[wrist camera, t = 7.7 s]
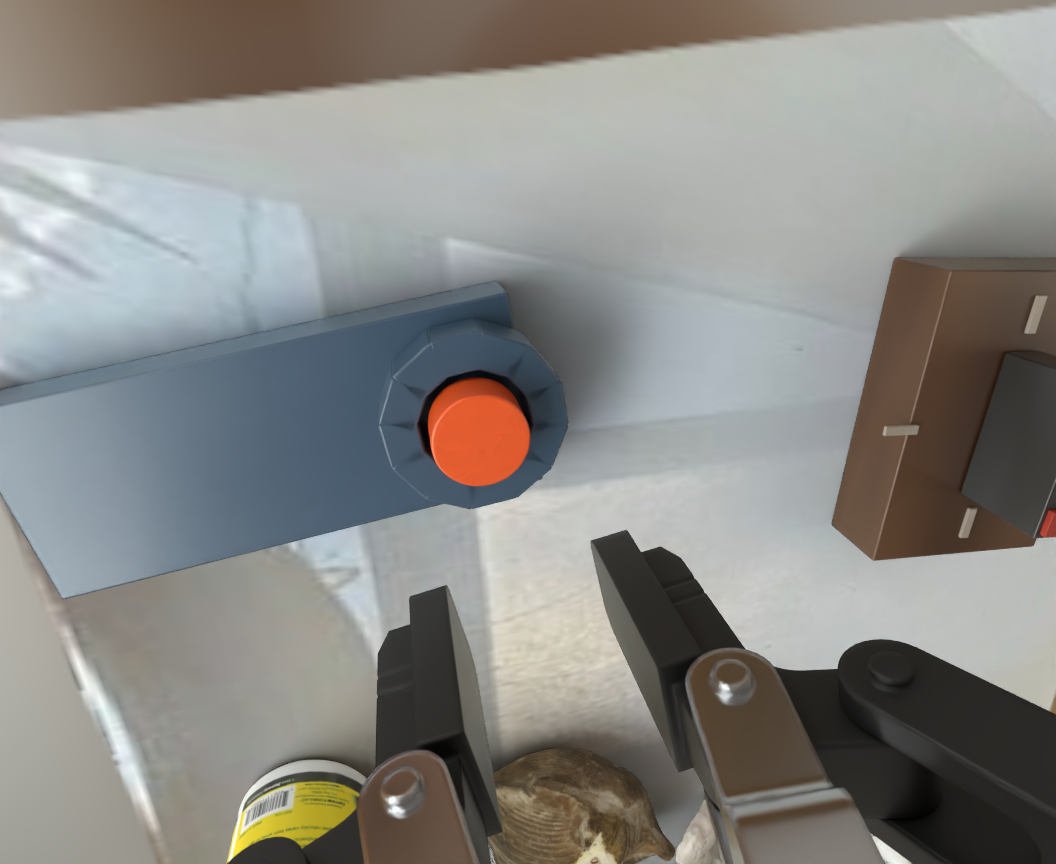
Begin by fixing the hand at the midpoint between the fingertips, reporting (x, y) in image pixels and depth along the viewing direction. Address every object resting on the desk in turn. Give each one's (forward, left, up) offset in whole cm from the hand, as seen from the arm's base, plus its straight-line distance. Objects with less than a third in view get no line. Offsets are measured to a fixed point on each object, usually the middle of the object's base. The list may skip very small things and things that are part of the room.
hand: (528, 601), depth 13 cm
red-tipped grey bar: (-21, +1, -10) cm, 23 cm away
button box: (+6, +1, -13) cm, 15 cm away
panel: (-21, +1, -13) cm, 25 cm away
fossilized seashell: (-5, +21, -13) cm, 26 cm away
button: (0, 0, -10) cm, 10 cm away
